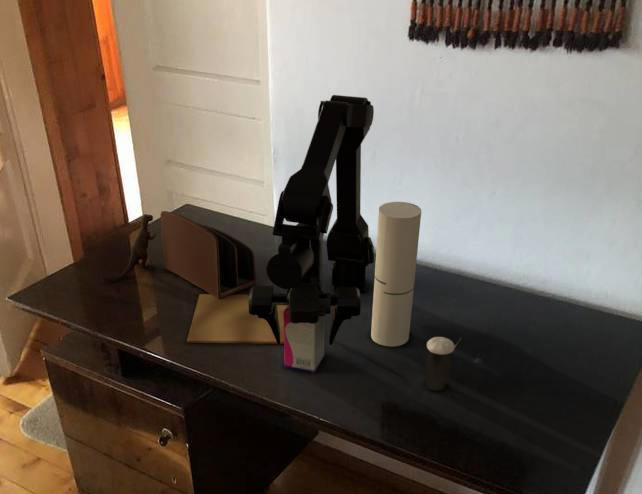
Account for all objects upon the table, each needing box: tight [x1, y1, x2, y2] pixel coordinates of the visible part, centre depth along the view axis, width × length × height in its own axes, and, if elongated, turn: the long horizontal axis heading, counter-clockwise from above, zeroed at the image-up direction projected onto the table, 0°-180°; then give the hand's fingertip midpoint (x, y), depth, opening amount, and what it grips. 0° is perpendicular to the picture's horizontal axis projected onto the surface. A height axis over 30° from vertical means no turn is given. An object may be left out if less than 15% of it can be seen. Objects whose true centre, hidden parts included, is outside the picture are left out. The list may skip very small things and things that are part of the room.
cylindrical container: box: [370, 201, 422, 348], centre depth 131 cm, size 7×7×25 cm
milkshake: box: [425, 336, 462, 392], centre depth 123 cm, size 4×5×10 cm
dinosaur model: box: [101, 213, 157, 282], centre depth 156 cm, size 4×12×15 cm
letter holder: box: [160, 210, 257, 299], centre depth 153 cm, size 10×20×14 cm, turn 43°
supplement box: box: [283, 305, 325, 374], centre depth 128 cm, size 6×6×12 cm
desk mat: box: [186, 293, 288, 345], centre depth 144 cm, size 24×18×1 cm
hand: (304, 343), depth 129 cm, fingers open, 9 cm apart
